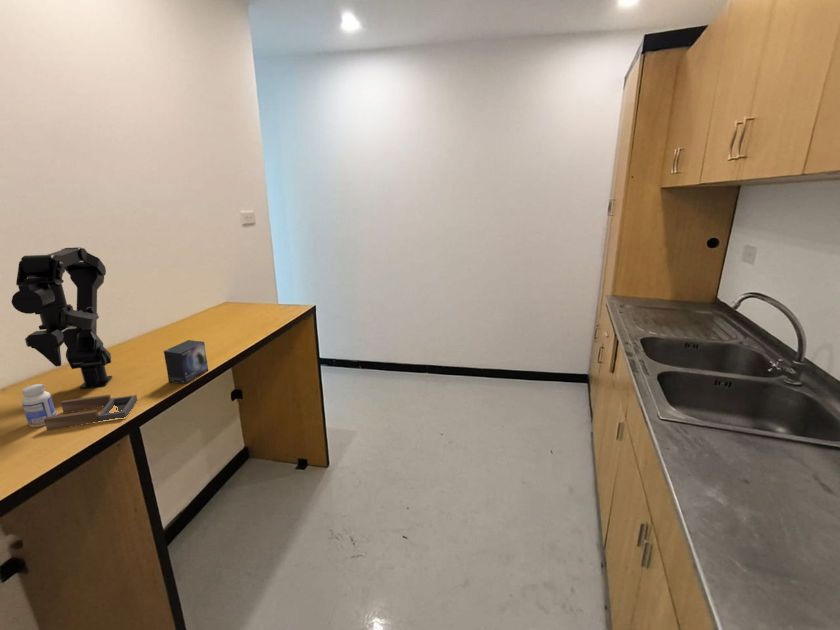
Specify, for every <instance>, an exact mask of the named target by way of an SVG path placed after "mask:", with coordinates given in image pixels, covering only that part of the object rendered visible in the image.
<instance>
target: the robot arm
mask: <svg viewBox="0 0 840 630" xmlns="http://www.w3.org/2000/svg"><path fill="white" fill-rule="evenodd" d="M17 269H18V270H17V275H16V283H15V284H16V286H17V287H18V291H16V292H14V294H13V295H12V298H11V305H12V306H13V308H14V309H15V310H16V311H18V312H20V313H22V314H27V315H28V314H29V315H31V314H35V316H36V315H39V318H40V321H41V324H40V325H39V326H38V330H35V331H33V332H32V333H30V334H28V335H27V337H25V339H24V341H25V344H26V347H28V348H29V347H30V349H34V350H36V351H37V352H38V353H40V354H41V355H43V357H45V358H46V359H47V360H48V361H49V362H50V363H51V364H52V365H53V366H54V367H56V368H57V367H61V366H62V355H61V354H62V353H61V346H62V345H63V344H64V345H65V346H66V351H65V358H66V360H67V362H68V365H69V366H70V368H71V370H75V369H80V373H81V375H82V380H83V383H82V384H81V385H80V386H79V389H87V388H95V387H96V388H97V387H103V386H107V384H108V383H109V382H110V381H111V379H112V378H113V375H108V373H107V370H106V366H107V365H108V364H111V363H112V356H111V355H112V353H110V352H109V350H108V349H106V348H105V346H104V342H103V341H102V340H101V338H100V337H99V335H97V333H98V332H97V330H98V329H97V326H98V325H97V323H98V321H97V320H98V319H100V318H99V317H100V316H99V313H98V290H99V288H100V287H101V286H102V285H103V284H104V281H105V276H106V274H107V270H106V269H107V268H106V266H105V264H104V263H103V262H102V260H101V259H100V257H98V256H95V255H93V254H91V253H89V252H88V251H87V249H86V248H84V247H80V246H79V247H76V246H75V247H64V248H61V250H58V251H54V252H51V253H48V254H36V255H34V254H33V255H31V254H30V255H23V256H22V257H21V258H20V261H19V263H18V268H17ZM65 272H66V273H68V275H69V276H70V277H69V279H70V281H72V283H73V284H74V285H75V287H76V310H75V309H74V307H73V305H72V304H70V303H67V298H66V296H65V292H64V287H63V283H64V279H63V275H64V273H65Z"/></svg>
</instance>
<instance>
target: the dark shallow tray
mask: <svg viewBox="0 0 840 630" xmlns="http://www.w3.org/2000/svg"><path fill="white" fill-rule="evenodd" d="M136 401H137V402H138V397H137V394H134V395H126V396H119V397H112V398H111V400H110V401H109V402H108V404H107V405H106V406H105V407H103V409H102V410H101V411H100V413H98V414H99V415H98V419H99V421H103V420H109V419H115V418H124V417H126V416H127V415H128V414H129V415H130V413H131V412H130V411H132V410H133V409H134V407H135V405H136V404H137V402H136ZM135 403H136V404H135ZM134 404H135V405H134ZM114 405H115V406H117V407H118V411H119V412H114V413H109V411H110V410H111V409H112V408H113V406H114ZM133 406H134V407H133ZM131 409H132V410H131ZM116 410H117V408H116ZM121 410H122V411H121ZM129 412H130V413H129ZM129 415H128V416H129ZM128 416H127V417H128Z"/></svg>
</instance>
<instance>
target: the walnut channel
mask: <svg viewBox="0 0 840 630" xmlns="http://www.w3.org/2000/svg"><path fill="white" fill-rule="evenodd" d="M110 400H111V394H104V395H103V394H102V395H95V396H86V397H81V398H75V399H74V398H73V399H66V400H62V401H61V402H60V404H61V405H60V406H61V409H62V412H63V413H64V412H67V414H65V413H64V414H60V415H56V416H51V417H46V418H45V419H44V422H45V425H44V426H45V428H46V431H52V430H53V431H54V430H58V429H59V428H60V429H66V428H71V427H70V426H73V427H76V426H75V425H80V426H82V425H81V424H86V423H93V422H98V421H99V419H98V415H99V414H100V413H99V411H98V408H97V407H102V406H106V405H107V404H108V402H109V401H110ZM92 408H95V410H93V409H92ZM102 408H103V407H102ZM84 409H88V410H89V411H88V410H84ZM78 410H81V412H80V411H78ZM72 411H74V412H73V413H72ZM98 423H99V422H98ZM93 424H94V423H93ZM86 425H87V424H86ZM65 427H66V428H65Z"/></svg>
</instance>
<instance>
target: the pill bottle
mask: <svg viewBox="0 0 840 630" xmlns="http://www.w3.org/2000/svg"><path fill="white" fill-rule="evenodd" d="M21 392H22V396H23V397H22V398H21V400H20V402H21V405H22V408H23V412H24V414H25V418H26V421H27V424H28V425H29V426H30V427H31V428H39V427H43V426H46V425H45V422H44V419H45V418H46V417H51V416H57V411H56V409H55V406H54V403H53V398H52V395H51V393H50V392H48V391H46V388H45V385H44V384H42V383H39V384H38V383H37V384H31V385H29V386H25V387H23V388H22V389H21Z"/></svg>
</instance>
